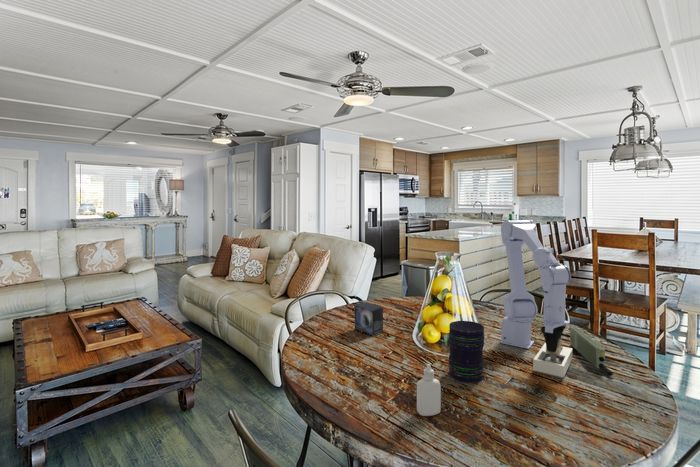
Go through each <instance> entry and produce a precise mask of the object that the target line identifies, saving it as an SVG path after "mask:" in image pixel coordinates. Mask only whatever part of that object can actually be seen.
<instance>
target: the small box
mask: <svg viewBox="0 0 700 467" xmlns="http://www.w3.org/2000/svg"><path fill="white" fill-rule="evenodd" d="M353 307H354V309H353V310H354V312H353V314H354V330H355V329H356V330H355V331H357V330H359V331H358V332H360V331H362V332H365V333H367V334H366V335H368V334H370V335H375V336H377V335H376V334H378V333H381V332H383V333H384V307H383V306H381V305H377V304H374V303H370V302H368V301H367V302H366V301H363V302H359V303H357V304H354V305H353ZM362 332H361V333H362ZM365 333H364V334H365ZM381 334H382V333H381ZM370 335H369V336H370ZM378 335H379V334H378Z"/></svg>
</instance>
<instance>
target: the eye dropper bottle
mask: <svg viewBox="0 0 700 467" xmlns="http://www.w3.org/2000/svg"><path fill="white" fill-rule="evenodd" d="M434 376H435V371H434V369H433V368H432V367H431V364H430V363H427V364H426V368H423V377H422V379H420V380H418V381H417V383H416V412H417V413H418V414H419V415H420V416H421V417H422V416H423V417H431V416H435V415H438V414H439V413H440V412H441V409H442V407H441V402H442V401H441V398H442V396H441V393H442V391H441V390H442V389H441V388H442V387H441V383H440V382H441V381H440V380H438V379H437V378H435V377H434Z"/></svg>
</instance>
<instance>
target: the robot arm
mask: <svg viewBox="0 0 700 467" xmlns="http://www.w3.org/2000/svg"><path fill="white" fill-rule="evenodd" d="M500 235H501V242H502V245H505V251H506V259H507V267H508V277H509V286H510V292H509V293H508V294H506V295H505V296H504V297H503V300H504V301H503V302H504V303H503V313H504V315H505V316H504V317H503V318H502V320H501V326H500V329H501V331H500V343H501V344H504V345H508V346H514V347H517V348H523V349H527V350H528V349H530V348H531V347H532V346H533V344H534V343H535V341H534V340H532V321H534V318H536V317H537V315H538V306H537V304H536V301H535V300H536V299H535V296H534V295H532V294H531V293H530V292H528V290H527V281H526V276H525V275H526V274H525V267H524V260H523V259H524V258H523V252H522V247H523V246H524V245H526V246H527V247H528V249H529V250H530V251H531V252H532V255H531V259H532V260H533V262H534V264H535V265H536V267H537V268H538V270H539V271H540V274H539V277H540V281H541V285H542V286H541V287H542V290H543V317H542V323H543V324H544V326H541V327H540V332H541V333H542V335H543V337H544V340H545V343H546V346H547V350H548V351H550V352H556V349H557V345H558V340H559V338H562V336H563V333H564V330H565V329H566V327H567V326H569V325H570V321H568V320H566V294H567V292H566V291H567V286H568V285H569V284H570V282H571V280H572V274H571V271H570V269H569V267H568V266H567V265H563V263H559V262H558V260H557V258H556V257H555V256H554V254H553V253H552V251H551V250H550V249H549V248H547V247H544V246H543V244H542V242H541V241H540V239H539V237H538V235H537V225H536V223H535V222H534V221H533V219H515V220H513V219H511V220H509V219H505V220H504V221H503V222H502V224H501V226H500Z"/></svg>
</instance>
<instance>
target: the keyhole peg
mask: <svg viewBox="0 0 700 467" xmlns="http://www.w3.org/2000/svg"><path fill="white" fill-rule="evenodd" d="M561 346H562V337H561V338H559V340H558V345H557V349H556V352H550V351H548V350H547V346H546V352H547V353H551V354H550V357H546V358H545V361H547V362H552V363H556V364H561V363H562V361H561V360H560V359H558V358H556V354H557V355H559V354H560V352H561Z"/></svg>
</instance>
